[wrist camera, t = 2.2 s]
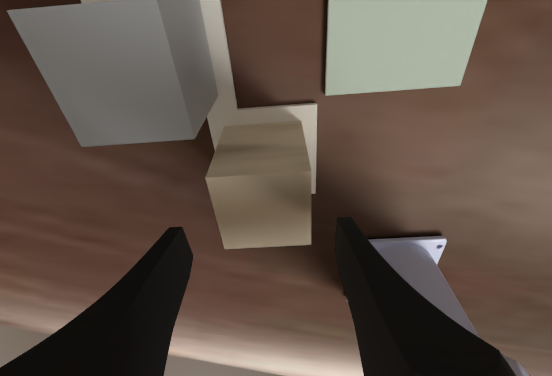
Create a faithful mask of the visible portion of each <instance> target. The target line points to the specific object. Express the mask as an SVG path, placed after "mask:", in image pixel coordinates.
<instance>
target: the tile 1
mask: <svg viewBox="0 0 552 376" xmlns="http://www.w3.org/2000/svg"><path fill="white" fill-rule="evenodd" d="M104 1H115V0H81V3H93V2H104ZM200 4H201V10H202V15H203V20H204V25H205V30H206V35H207V40H208V45H209V50H210V55H211V60H212V66H213V71H214V76H215V81H216V86H217V91H218V97H217V99H216V101H215V103H214V104H213V106H212V108H211V110H210V112H219V111H233V110H238V106H237V100H236V94H235V88H234V81H233V75H232V69H231V62H230V56H229V50H228V44H227V37H226V31H225V25H224V18H223V12H222V6H221V0H200Z"/></svg>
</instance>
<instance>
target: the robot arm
mask: <svg viewBox="0 0 552 376" xmlns="http://www.w3.org/2000/svg"><path fill="white" fill-rule="evenodd" d="M446 242H447V240H446V238H445V237H444V236H427V237H408V238H389V239H370V240H368V239H367V238H366V236H365V235H364V234H363V232H362V231H361V230H360V228H359V227H358V226H357V224H356V223H355V221H354V220H353V219H352V218H351V217H344V218H337V227H336V239H335V253H336V259H337V264H338V269H339V273H340V276H341V280H342V283H343V287H344V290H345V293H346V299H347V302H348V304H349V307H350V310H351V314H352V318H353V322H354V326H355V331H356V336H357V341H358V346H359V351H360V357H361V362H362V367H363V373H364V376H530V375H529V374H528V372H527V371H526V370H525V369H524V368H523V367H522V365H521V364H520V363H519V362H517V361H515V360H513V359H511V358H509V357H506V356H505V355H504V354H502V353H500V351H499V350H497V349H496V348H494V347H493V346H491V345H490V344H488V343H487V342H485V341H484V340H482V339H481V338H480V337H479V335H478V334H477V332H476V330H475V329H474V327H473V325H472V324H471V322H470V320H469V318H468V317H467V315H466V313H465V312H464V310H463V308H462V307H461V305H460V303H459V302H458V300H457V298H456V296H455V295H454V293H453V291H452V290H451V288H450V286H449V285H448V283H447V281H446V279H445V278H444V276H443V274H442V273H441V271H440V269H439V268H438V266H437V263H438V261H439V259H440V256H441V254H442V252H443V249H444V247H445V245H446ZM192 260H193V254H192V251H191V248H190V246H189V243H188V241H187V238H186V235H185V233H184V230H183V228H182V227H169V228H168V230H167V231H166V232H165V233H164V234H163V235H162V236H161V237H160V238H159V239H158V241H157V242H156V243H155V244H154V245H153V246H152V247H151V248H150V249H149V251H148V252H147V253H146V254H145V255H144V256H143V257H142V258H141V259H140V260H139V261H138V262H137V264H136V265H135V266H134V267H133V268H132V269H131V270H130V271H129V272H128V273H127V274H126V275H125V276H124V277H123V278H122V279H121V280H120V281H119V282H117V283H116V284H115V285H114V286H113V287H112V288H111V289H110V290H109V291H108V292H106V293H105V294H104V295H103V296H102V297H101V298H100V299H98V300H97V301H96V302H95V303H94V304H92V305H91V306H90V307H89V308H87V309H86V310H85V311H83V312H82V313H81V314H80V315H78V316H77V317H76V318H74V319H73V320H72V321H70V322H69V323H68V324H66V325H65V326H64V327H62V328H61V329H59V330H58V331H57V332H55V333H54V334H52V335H51V336H50V337H48V338H46V339H45V340H43V341H42V342H40V343H39V344H38V345H36V346H34V347H33V348H31V349H30V350H28V351H27V352H25V353H23V354H22V355H20V356H19V357H17V358H15V359H14V360H12V361H10V362H9V363H7V364H6V365H4V366H2V367H1V368H0V376H163V375H164V371H165V365H166V360H167V355H168V350H169V346H170V341H171V336H172V332H173V328H174V325H175V321H176V318H177V315H178V312H179V309H180V305H181V302H182V299H183V296H184V293H185V290H186V287H187V283H188V280H189V277H190V272H191V267H192Z"/></svg>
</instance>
